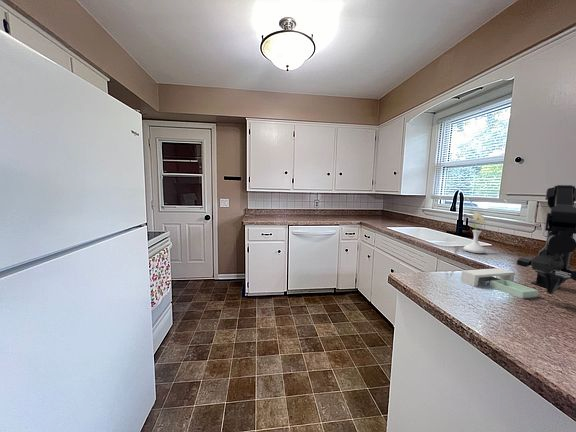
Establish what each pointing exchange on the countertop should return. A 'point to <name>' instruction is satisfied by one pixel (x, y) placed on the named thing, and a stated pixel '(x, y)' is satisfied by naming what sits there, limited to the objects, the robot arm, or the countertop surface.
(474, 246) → the flower in vase
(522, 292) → the tray
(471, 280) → the shelf
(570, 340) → the countertop surface
